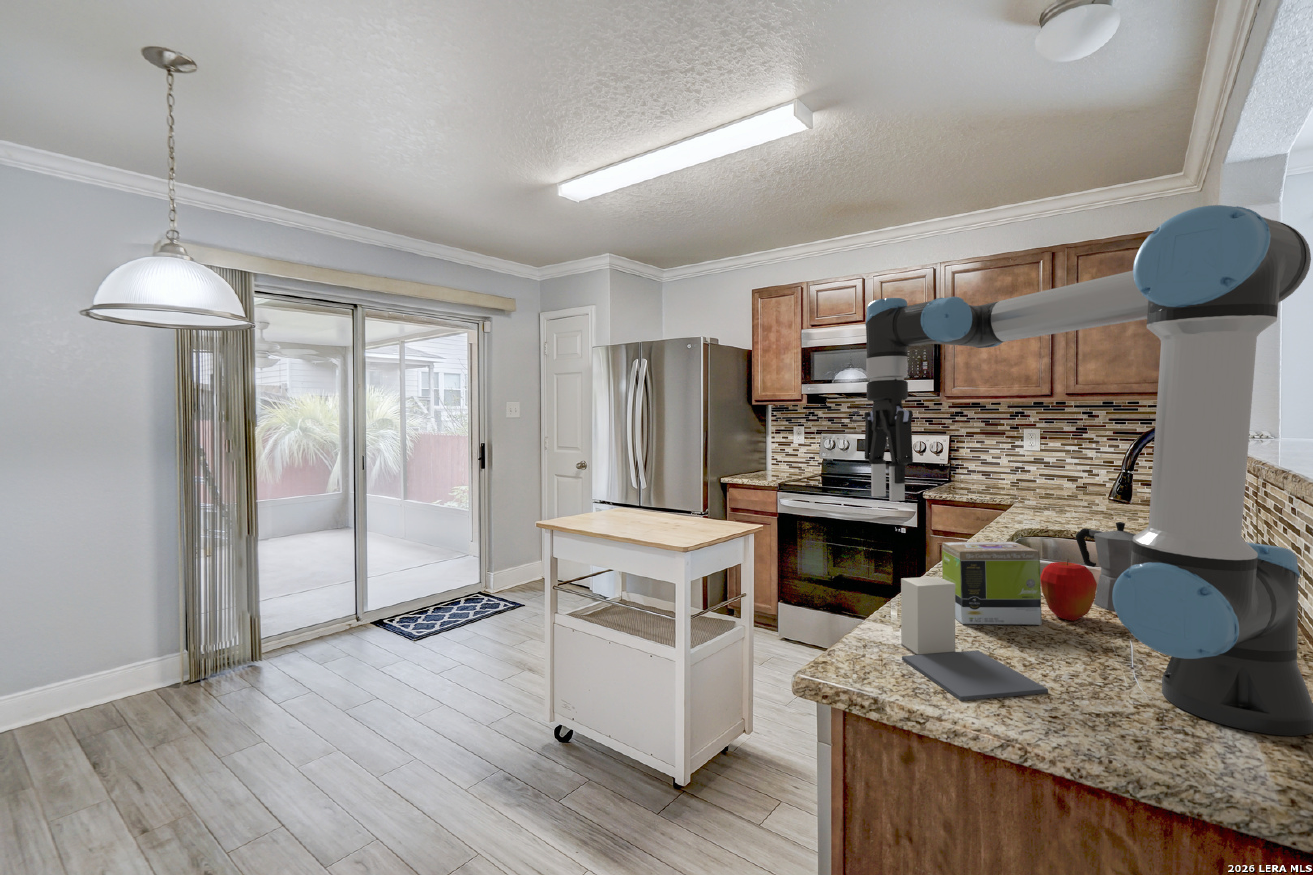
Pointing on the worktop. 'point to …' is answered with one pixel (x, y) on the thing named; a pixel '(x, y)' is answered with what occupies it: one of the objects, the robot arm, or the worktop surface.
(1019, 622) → the tea box
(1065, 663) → the worktop surface
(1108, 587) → the coffeepot
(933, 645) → the cream block
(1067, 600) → the apple
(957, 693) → the mat
